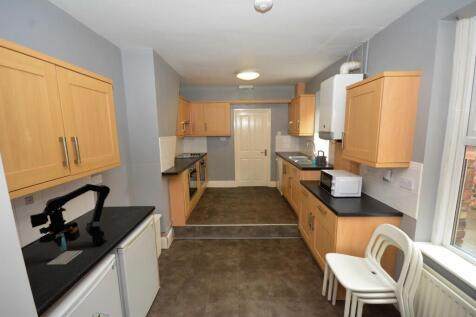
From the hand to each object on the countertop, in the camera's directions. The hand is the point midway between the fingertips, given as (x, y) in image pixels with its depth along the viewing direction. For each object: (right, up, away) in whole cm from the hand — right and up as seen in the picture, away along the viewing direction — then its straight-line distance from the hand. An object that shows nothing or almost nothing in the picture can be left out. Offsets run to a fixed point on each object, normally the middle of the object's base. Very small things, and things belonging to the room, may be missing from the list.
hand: (62, 244), depth 118 cm
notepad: (+1, -8, +1) cm, 8 cm away
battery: (-13, -6, +24) cm, 28 cm away
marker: (0, -3, 0) cm, 3 cm away
